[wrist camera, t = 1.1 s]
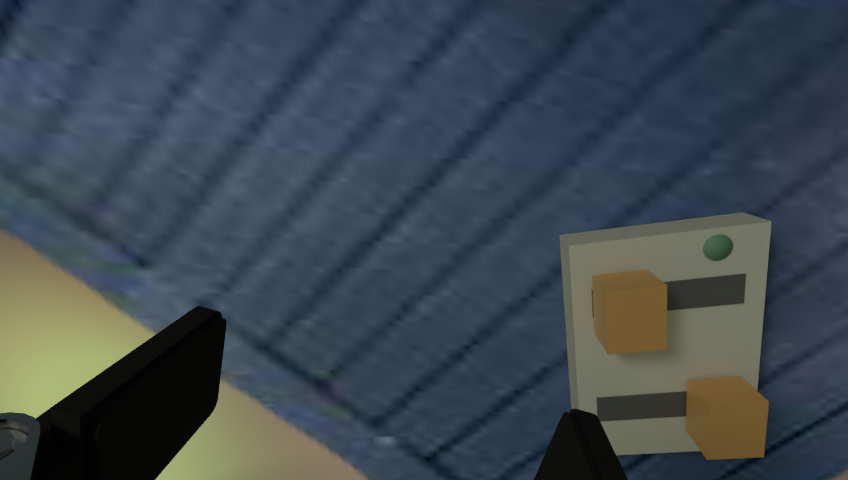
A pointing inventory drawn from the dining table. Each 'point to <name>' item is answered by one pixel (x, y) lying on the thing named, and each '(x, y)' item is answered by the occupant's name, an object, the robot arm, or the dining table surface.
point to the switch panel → (686, 322)
